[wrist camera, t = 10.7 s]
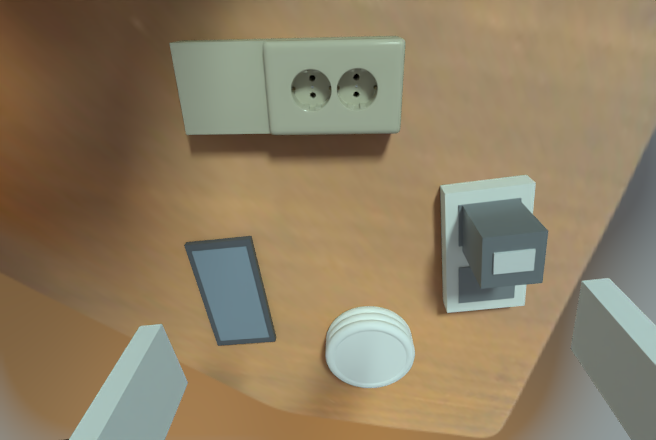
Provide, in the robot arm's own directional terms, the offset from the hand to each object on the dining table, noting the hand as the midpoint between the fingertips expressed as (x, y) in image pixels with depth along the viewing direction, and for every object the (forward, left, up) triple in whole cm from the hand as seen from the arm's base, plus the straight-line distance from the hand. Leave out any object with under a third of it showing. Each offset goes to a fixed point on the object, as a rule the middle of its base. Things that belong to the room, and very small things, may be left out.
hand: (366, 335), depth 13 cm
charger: (+11, +12, -24) cm, 29 cm away
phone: (+17, -15, -27) cm, 35 cm away
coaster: (+26, -1, -27) cm, 37 cm away
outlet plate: (+14, +12, -27) cm, 32 cm away
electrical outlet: (-4, -4, -27) cm, 28 cm away
